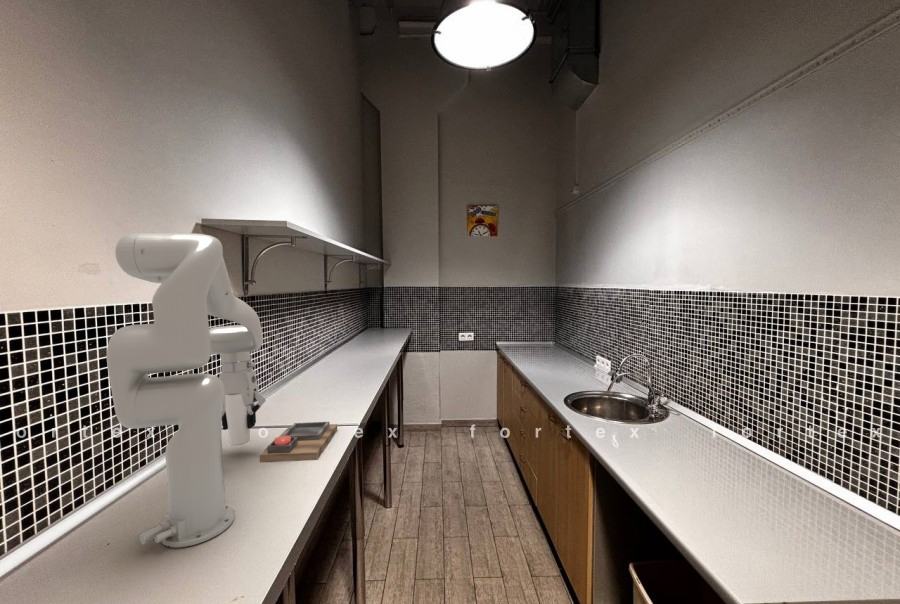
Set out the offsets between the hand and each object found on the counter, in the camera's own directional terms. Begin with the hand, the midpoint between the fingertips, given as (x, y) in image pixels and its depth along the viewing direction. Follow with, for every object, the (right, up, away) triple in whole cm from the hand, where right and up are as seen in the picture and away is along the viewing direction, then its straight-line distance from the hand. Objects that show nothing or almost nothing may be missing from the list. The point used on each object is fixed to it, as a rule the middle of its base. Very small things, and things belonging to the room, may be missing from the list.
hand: (239, 427), depth 111 cm
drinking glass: (0, -5, 0) cm, 5 cm away
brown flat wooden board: (+16, -8, +6) cm, 19 cm away
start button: (+13, -5, -1) cm, 14 cm away
